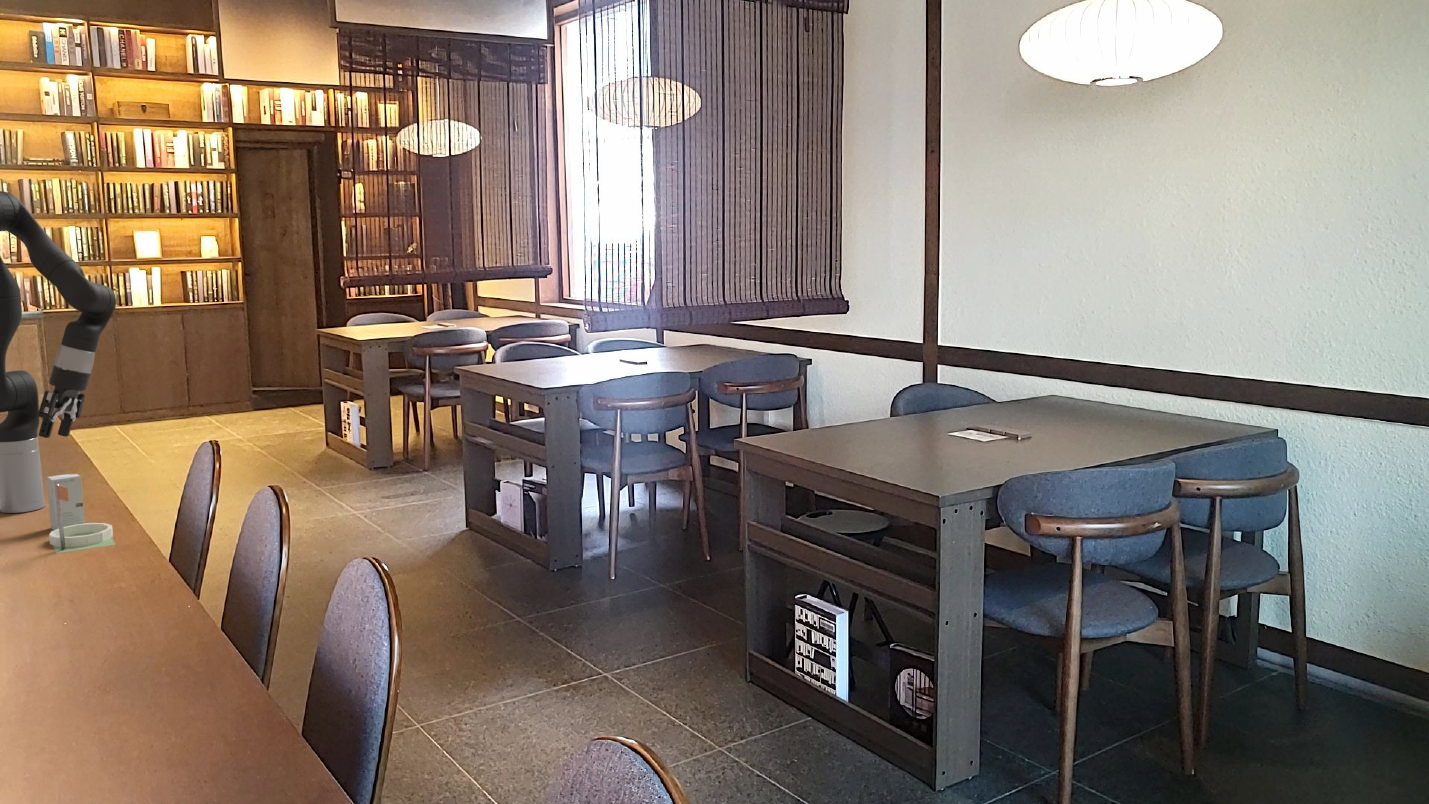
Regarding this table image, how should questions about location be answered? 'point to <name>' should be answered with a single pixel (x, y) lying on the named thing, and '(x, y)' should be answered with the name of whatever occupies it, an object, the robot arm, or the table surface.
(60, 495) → the pin flag
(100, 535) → the cup
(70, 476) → the skincare box
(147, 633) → the table surface
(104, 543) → the felt mat
